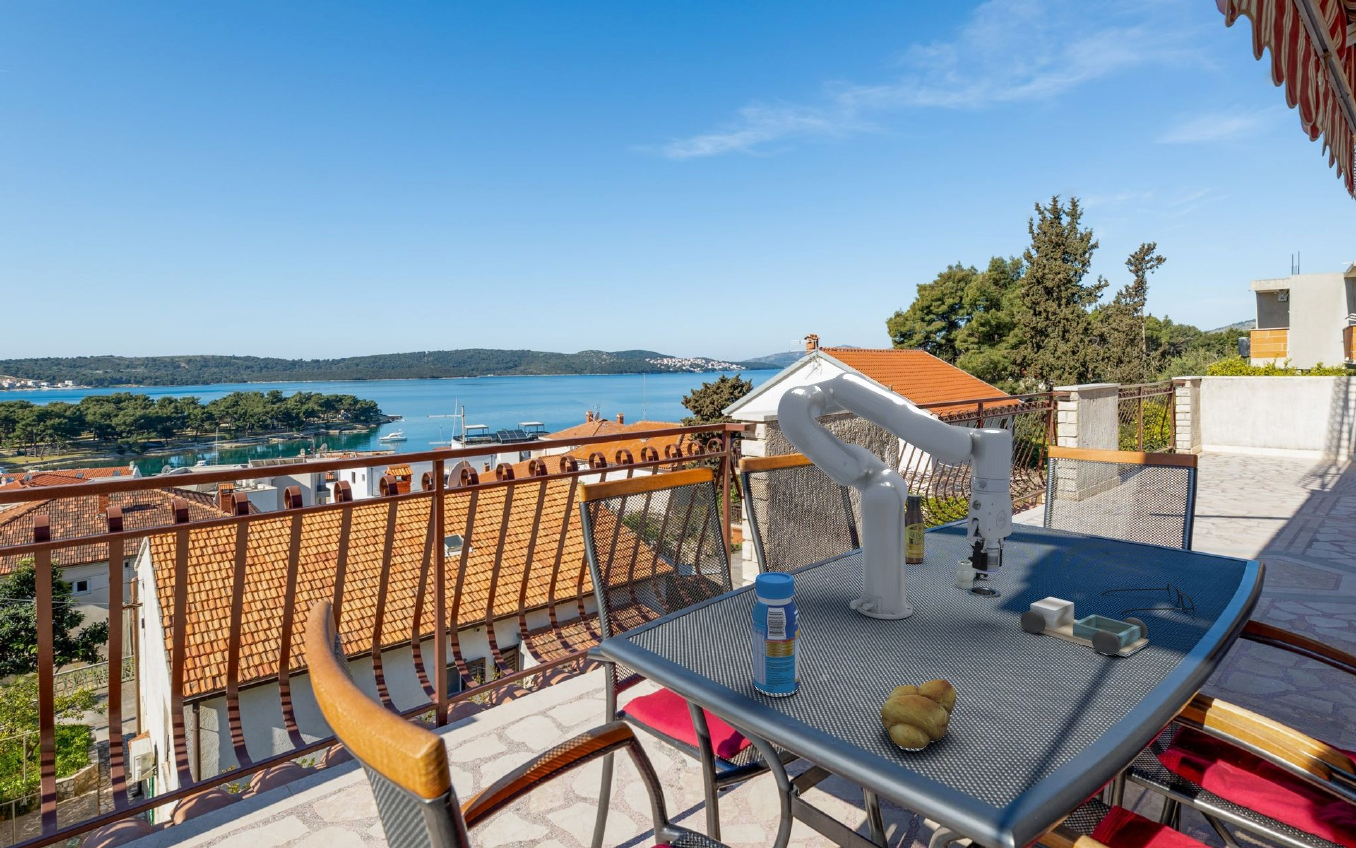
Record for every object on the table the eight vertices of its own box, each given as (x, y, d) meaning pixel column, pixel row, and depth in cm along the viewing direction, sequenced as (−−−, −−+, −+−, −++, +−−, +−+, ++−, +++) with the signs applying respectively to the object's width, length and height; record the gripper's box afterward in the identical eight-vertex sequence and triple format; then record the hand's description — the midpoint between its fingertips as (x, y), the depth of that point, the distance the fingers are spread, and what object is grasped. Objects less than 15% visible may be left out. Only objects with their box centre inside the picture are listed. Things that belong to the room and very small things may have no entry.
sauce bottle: (910, 565, 187) (909, 497, 186) (897, 559, 193) (896, 494, 192) (929, 563, 188) (929, 496, 187) (916, 557, 194) (915, 492, 193)
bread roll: (927, 767, 89) (927, 711, 89) (863, 742, 96) (862, 690, 96) (961, 729, 99) (961, 679, 98) (900, 709, 105) (899, 661, 105)
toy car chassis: (1121, 660, 121) (1122, 633, 121) (1016, 628, 138) (1016, 604, 137) (1152, 643, 128) (1152, 618, 128) (1049, 615, 145) (1049, 592, 144)
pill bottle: (978, 566, 144) (979, 530, 143) (1001, 571, 141) (1002, 533, 140) (972, 571, 140) (973, 534, 140) (995, 576, 137) (997, 537, 137)
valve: (975, 592, 162) (991, 580, 171) (975, 566, 162) (991, 556, 171) (948, 586, 167) (966, 576, 176) (948, 561, 166) (966, 552, 175)
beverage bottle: (742, 688, 114) (740, 577, 113) (771, 672, 120) (769, 567, 118) (781, 704, 108) (779, 587, 107) (810, 687, 114) (808, 576, 112)
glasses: (1196, 623, 139) (1194, 600, 139) (1117, 624, 144) (1114, 602, 144) (1170, 601, 153) (1167, 581, 153) (1098, 603, 158) (1096, 583, 158)
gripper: (983, 491, 132) (980, 578, 133) (1028, 484, 141) (1025, 565, 142) (950, 486, 138) (947, 569, 139) (995, 479, 147) (992, 557, 148)
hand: (986, 566), depth 141 cm, fingers closed on pill bottle, 4 cm apart
